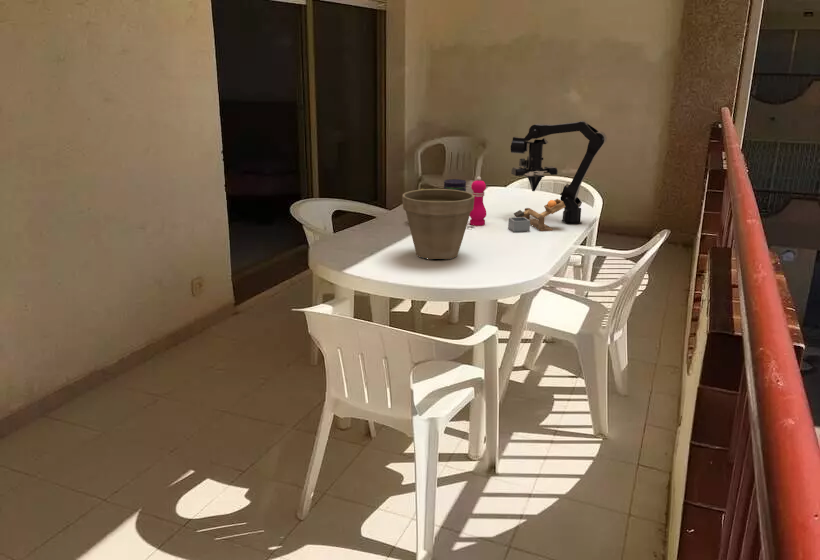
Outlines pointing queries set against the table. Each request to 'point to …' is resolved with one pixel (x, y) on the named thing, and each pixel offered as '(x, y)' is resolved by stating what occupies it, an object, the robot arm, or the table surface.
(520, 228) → the grey open box
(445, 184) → the storage jar
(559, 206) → the catapult lever
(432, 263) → the table surface
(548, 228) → the frame
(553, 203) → the ball
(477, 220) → the pepper mill
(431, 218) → the plant pot
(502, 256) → the table surface
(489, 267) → the table surface
